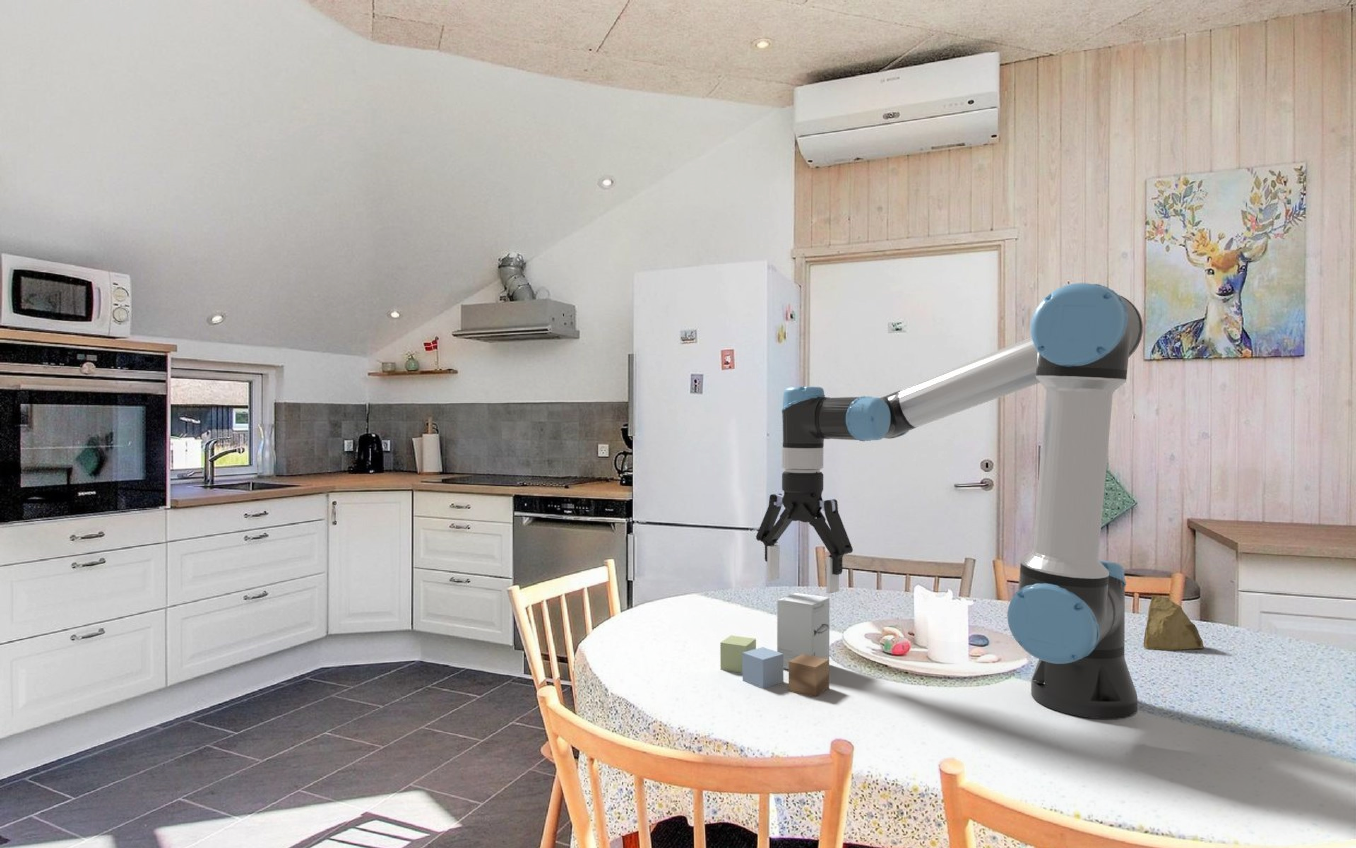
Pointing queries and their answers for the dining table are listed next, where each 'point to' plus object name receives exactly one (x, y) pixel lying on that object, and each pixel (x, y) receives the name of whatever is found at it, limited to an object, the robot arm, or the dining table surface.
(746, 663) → the slate blue cube
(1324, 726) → the dining table surface
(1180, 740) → the dining table surface
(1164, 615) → the rock
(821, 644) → the supplement box
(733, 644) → the olive cube
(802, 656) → the walnut cube
